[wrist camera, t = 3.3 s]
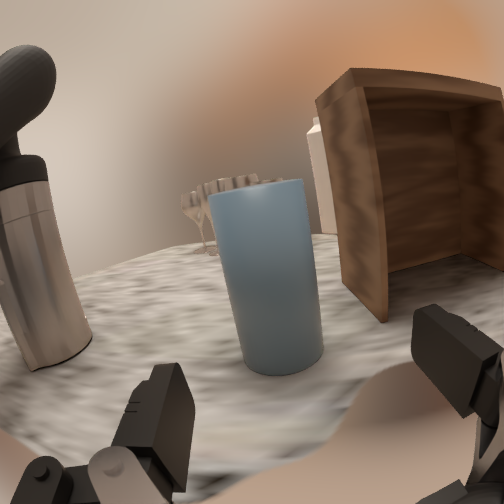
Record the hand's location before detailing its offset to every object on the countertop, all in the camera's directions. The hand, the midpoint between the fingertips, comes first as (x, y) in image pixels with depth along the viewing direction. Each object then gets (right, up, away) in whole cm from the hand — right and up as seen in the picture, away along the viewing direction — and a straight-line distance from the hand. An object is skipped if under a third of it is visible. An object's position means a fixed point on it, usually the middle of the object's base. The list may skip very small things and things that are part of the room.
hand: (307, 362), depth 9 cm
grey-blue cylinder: (+1, -4, +12) cm, 13 cm away
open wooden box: (+17, +1, +18) cm, 25 cm away
